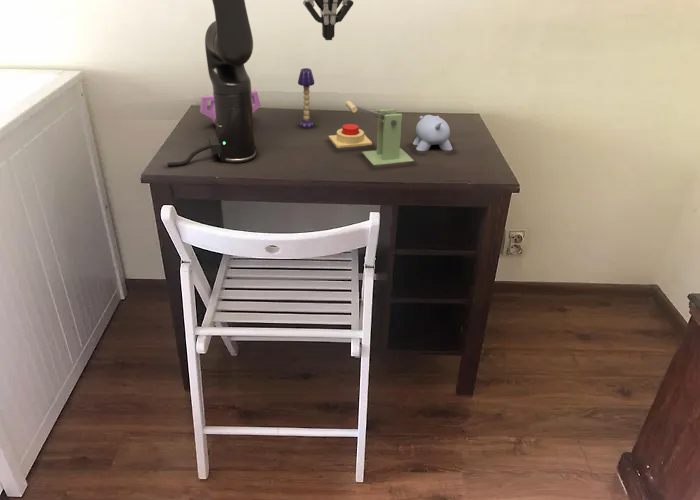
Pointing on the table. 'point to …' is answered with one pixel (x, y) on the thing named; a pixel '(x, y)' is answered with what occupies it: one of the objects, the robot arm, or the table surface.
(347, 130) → the button
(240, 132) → the robot arm
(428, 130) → the hippopotamus toy
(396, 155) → the bracket
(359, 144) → the button box
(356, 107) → the lever
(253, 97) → the pot
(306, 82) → the toy lamp
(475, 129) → the table surface
